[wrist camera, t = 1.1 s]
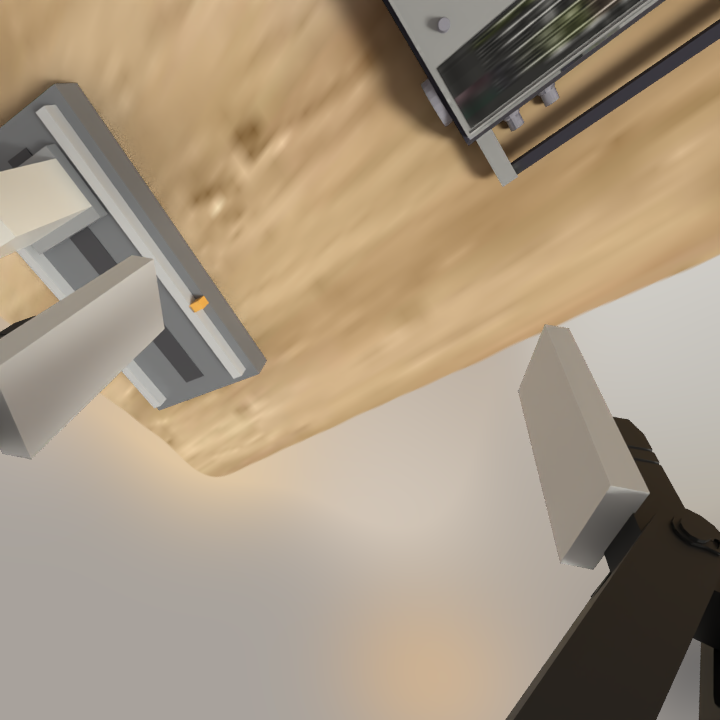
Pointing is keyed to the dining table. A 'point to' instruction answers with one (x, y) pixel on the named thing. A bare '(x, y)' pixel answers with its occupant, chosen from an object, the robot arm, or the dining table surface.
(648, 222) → the dining table surface
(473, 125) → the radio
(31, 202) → the fader tab
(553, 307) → the dining table surface
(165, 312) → the grey slider base
